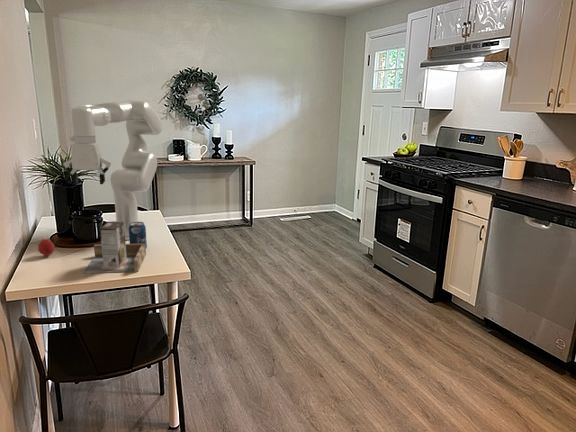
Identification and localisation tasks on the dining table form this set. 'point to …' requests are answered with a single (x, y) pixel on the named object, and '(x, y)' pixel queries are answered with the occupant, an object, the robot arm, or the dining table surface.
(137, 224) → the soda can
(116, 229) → the coffee box
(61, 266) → the dining table surface
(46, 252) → the onion
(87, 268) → the corner arena
